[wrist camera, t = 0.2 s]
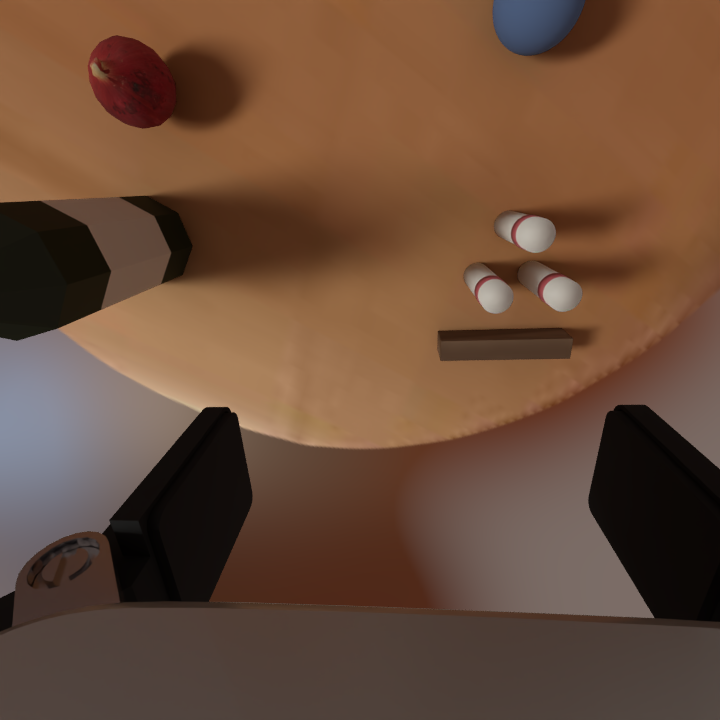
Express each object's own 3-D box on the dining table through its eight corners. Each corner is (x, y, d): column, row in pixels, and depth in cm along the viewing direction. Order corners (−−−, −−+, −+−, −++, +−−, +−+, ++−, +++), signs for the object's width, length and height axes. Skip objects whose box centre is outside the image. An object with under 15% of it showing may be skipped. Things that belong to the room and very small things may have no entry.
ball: (487, -30, 30) (508, -77, 25) (572, -38, 29) (613, -89, 24) (482, 68, 32) (500, 44, 27) (560, 62, 32) (595, 36, 26)
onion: (202, 80, 34) (150, 51, 27) (179, 146, 36) (125, 137, 29) (138, 37, 33) (66, -4, 26) (117, 108, 35) (46, 88, 28)
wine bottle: (195, 288, 41) (-195, 492, 14) (115, 278, 42) (-422, 460, 14) (189, 200, 38) (-337, 243, 11) (102, 190, 38) (-631, 208, 11)
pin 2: (518, 260, 38) (550, 280, 30) (546, 259, 38) (585, 279, 30) (515, 287, 39) (546, 312, 31) (542, 286, 39) (580, 311, 31)
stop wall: (437, 330, 41) (441, 341, 39) (560, 328, 40) (573, 338, 37) (437, 349, 42) (440, 360, 39) (558, 346, 41) (569, 358, 38)
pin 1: (463, 262, 38) (481, 282, 31) (490, 261, 38) (515, 281, 30) (462, 288, 39) (479, 314, 32) (488, 287, 39) (512, 313, 31)
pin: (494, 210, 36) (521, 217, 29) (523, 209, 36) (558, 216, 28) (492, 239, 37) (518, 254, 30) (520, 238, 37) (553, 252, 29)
